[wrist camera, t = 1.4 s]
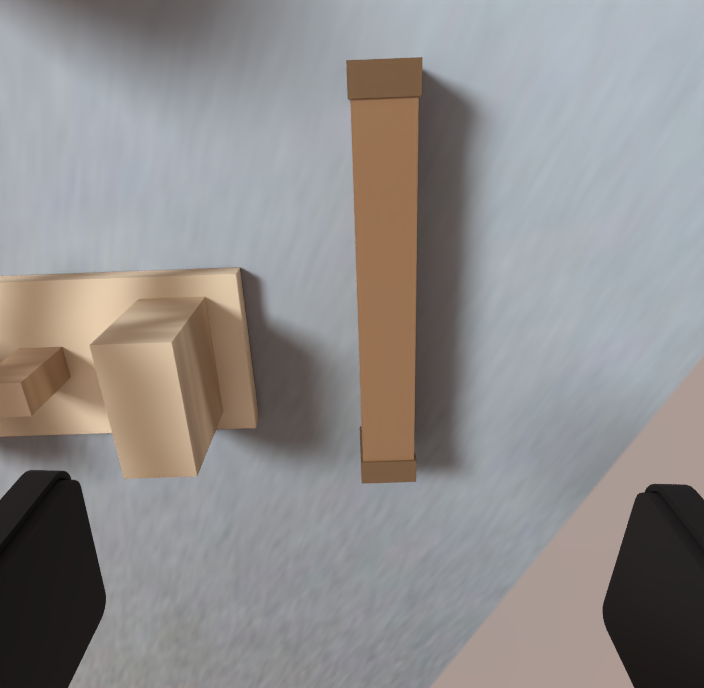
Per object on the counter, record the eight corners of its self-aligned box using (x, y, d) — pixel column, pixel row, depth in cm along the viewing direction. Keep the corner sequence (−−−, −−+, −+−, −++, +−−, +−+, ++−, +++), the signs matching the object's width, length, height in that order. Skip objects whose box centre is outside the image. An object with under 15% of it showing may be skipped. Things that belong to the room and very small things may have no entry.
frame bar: (346, 65, 21) (346, 60, 18) (412, 63, 21) (422, 57, 18) (360, 445, 29) (361, 483, 26) (409, 444, 29) (416, 481, 26)
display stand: (240, 267, 25) (208, 315, 19) (258, 417, 28) (236, 494, 22) (-172, 282, 25) (-319, 333, 19) (-105, 429, 28) (-215, 508, 23)
